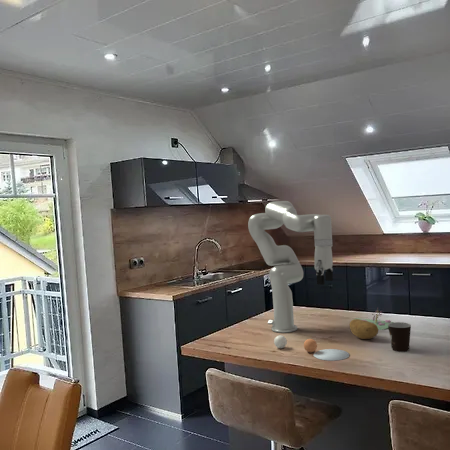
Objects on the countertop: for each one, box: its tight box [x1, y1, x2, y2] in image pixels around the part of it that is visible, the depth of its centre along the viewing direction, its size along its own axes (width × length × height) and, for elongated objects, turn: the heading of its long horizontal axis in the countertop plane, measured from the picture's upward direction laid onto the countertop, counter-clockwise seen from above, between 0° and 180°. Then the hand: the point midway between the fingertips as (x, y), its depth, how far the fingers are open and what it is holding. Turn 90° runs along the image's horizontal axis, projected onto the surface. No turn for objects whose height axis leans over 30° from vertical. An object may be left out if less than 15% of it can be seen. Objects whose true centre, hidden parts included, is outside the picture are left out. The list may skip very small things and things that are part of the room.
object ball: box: [303, 338, 318, 353], centre depth 196 cm, size 5×5×5 cm
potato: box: [349, 318, 379, 340], centre depth 210 cm, size 10×14×8 cm
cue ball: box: [273, 334, 288, 349], centre depth 204 cm, size 5×5×5 cm
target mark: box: [313, 348, 350, 362], centre depth 191 cm, size 14×14×1 cm
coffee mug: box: [387, 321, 412, 353], centre depth 193 cm, size 12×9×10 cm
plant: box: [352, 307, 394, 331], centre depth 235 cm, size 25×21×9 cm
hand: (325, 282), depth 207 cm, fingers open, 9 cm apart
